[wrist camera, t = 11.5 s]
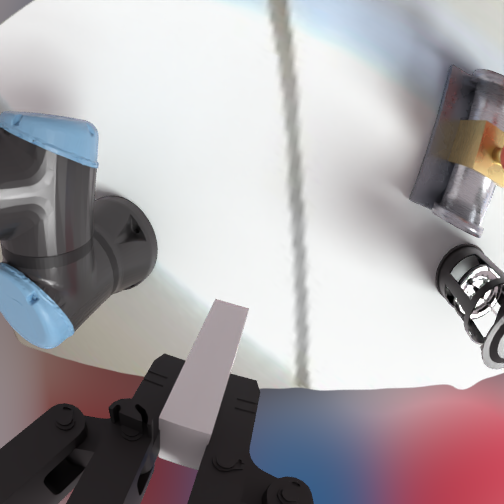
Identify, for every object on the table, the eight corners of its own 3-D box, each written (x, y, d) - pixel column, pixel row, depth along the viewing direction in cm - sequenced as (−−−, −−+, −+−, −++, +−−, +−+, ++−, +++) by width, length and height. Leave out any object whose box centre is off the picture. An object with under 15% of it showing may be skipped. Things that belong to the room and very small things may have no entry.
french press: (423, 295, 41) (480, 410, 20) (443, 237, 38) (530, 331, 17) (480, 304, 40) (544, 402, 19) (500, 251, 36) (587, 335, 15)
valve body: (474, 230, 36) (510, 258, 27) (409, 199, 37) (438, 222, 27) (513, 107, 28) (557, 108, 18) (450, 65, 29) (488, 51, 19)
